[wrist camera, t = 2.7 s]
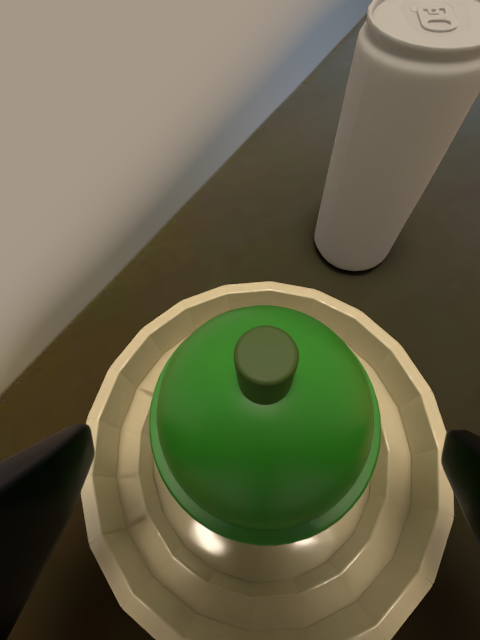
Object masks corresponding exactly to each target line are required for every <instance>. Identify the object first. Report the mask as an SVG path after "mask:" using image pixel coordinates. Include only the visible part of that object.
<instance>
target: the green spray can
mask: <svg viewBox="0 0 480 640" xmlns="http://www.w3.org/2000/svg"><path fill="white" fill-rule="evenodd" d="M149 435H150V443H151V450H152V453H153V457H154V460H155V464H156V467H157V469H158V471H159V474H160V476H161V478H162V481H163V482H164V484H165V486H166V487H167V489H168V491H169V492H170V494H171V495H172V497H173V498H174V499H175V500H176V502H177V503H178V504H179V505H180V507H181V508H182V509H183V510H184V511H185V512H187V513H188V514H189V515H190V516H191V517H192V518H193V519H194V520H195V521H197V522H198V523H200V524H201V525H203V526H204V527H205V528H207V529H208V530H210V531H212V532H214V533H216V534H218V535H220V536H222V537H224V538H227V539H231V540H234V541H237V542H240V543H245V544H251V545H257V546H278V545H284V544H291V543H295V542H299V541H302V540H305V539H308V538H311V537H313V536H315V535H317V534H319V533H321V532H323V531H325V530H327V529H328V528H329V527H331V526H332V525H334V524H335V523H336V522H338V521H339V520H340V519H341V518H343V517H344V516H345V515H346V514H347V513H348V512H349V511H350V510H351V509H352V508H353V506H354V505H355V504H356V502H357V501H358V500H359V498H360V497H361V496H362V494H363V493H364V491H365V489H366V487H367V485H368V484H369V482H370V480H371V477H372V475H373V472H374V469H375V467H376V464H377V459H378V455H379V450H380V442H381V417H380V411H379V405H378V400H377V397H376V394H375V391H374V388H373V385H372V383H371V381H370V378H369V376H368V374H367V372H366V370H365V369H364V367H363V365H362V364H361V362H360V361H359V359H358V358H357V357H356V355H355V354H354V353H353V352H352V350H351V349H350V348H349V347H348V346H347V345H346V343H345V342H344V341H343V340H342V339H341V338H340V337H339V336H338V335H337V334H336V333H335V332H334V331H332V330H331V329H330V328H328V327H327V326H326V325H325V324H323V323H322V322H320V321H318V320H317V319H315V318H313V317H311V316H309V315H307V314H305V313H302V312H300V311H296V310H293V309H290V308H285V307H281V306H272V305H253V306H246V307H241V308H237V309H233V310H230V311H227V312H225V313H222V314H220V315H218V316H216V317H214V318H212V319H210V320H209V321H207V322H206V323H204V324H203V325H201V326H200V327H199V328H197V329H196V330H195V331H194V332H193V333H192V334H191V335H189V336H188V337H187V338H186V339H185V340H184V341H183V342H182V343H181V344H180V345H179V347H178V348H177V349H176V350H175V351H174V352H173V354H172V355H171V357H170V358H169V360H168V361H167V362H166V364H165V366H164V368H163V370H162V372H161V374H160V376H159V378H158V381H157V383H156V386H155V389H154V392H153V397H152V401H151V406H150V415H149Z"/></svg>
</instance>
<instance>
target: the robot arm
mask: <svg viewBox="0 0 480 640" xmlns="http://www.w3.org/2000/svg"><path fill="white" fill-rule="evenodd" d="M94 456H95V449H94V443H93V438H92V432H91V428H90V426H89V425H87V424H71V425H69V426H67V427H66V428H64V429H62V430H60V431H58V432H56V433H54V434H52V435H50V436H48V437H46V438H45V439H43V440H41V441H39V442H37V443H35V444H33V445H31V446H29V447H27V448H26V449H24V450H22V451H20V452H18V453H16V454H14V455H12V456H10V457H8V458H7V459H5V460H3V461H1V462H0V640H7V638H8V636H9V634H10V632H11V630H12V628H13V626H14V624H15V622H16V621H17V619H18V617H19V615H20V613H21V611H22V609H23V607H24V605H25V603H26V601H27V599H28V598H29V596H30V594H31V592H32V590H33V588H34V586H35V584H36V582H37V580H38V578H39V576H40V575H41V573H42V571H43V569H44V567H45V565H46V563H47V561H48V559H49V557H50V555H51V554H52V552H53V550H54V548H55V546H56V544H57V542H58V540H59V538H60V536H61V534H62V532H63V531H64V529H65V527H66V525H67V523H68V521H69V519H70V516H71V514H72V512H73V510H74V507H75V505H76V502H77V500H78V497H79V495H80V492H81V490H82V487H83V485H84V482H85V480H86V478H87V475H88V473H89V470H90V468H91V465H92V463H93V460H94ZM441 463H442V467H443V470H444V472H445V474H446V476H447V479H448V481H449V483H450V485H451V488H452V490H453V492H454V494H455V497H456V499H457V501H458V503H459V505H460V508H461V510H462V512H463V514H464V517H465V519H466V521H467V523H468V525H469V527H470V529H471V531H472V533H473V535H474V537H475V539H476V540H477V542H478V544H479V546H480V437H479V436H477V435H475V434H473V433H471V432H469V431H467V430H449V431H448V432H447V433H446V436H445V441H444V445H443V450H442V455H441Z"/></svg>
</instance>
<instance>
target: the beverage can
mask: <svg viewBox="0 0 480 640" xmlns="http://www.w3.org/2000/svg"><path fill="white" fill-rule="evenodd" d="M479 92H480V0H373V1H372V3H371V4H370V6H369V7H368V11H367V20H366V22H365V23H364V25H363V26H362V28H361V30H360V31H359V34H358V38H357V43H356V47H355V52H354V56H353V61H352V65H351V70H350V74H349V79H348V83H347V88H346V93H345V97H344V102H343V106H342V111H341V115H340V120H339V124H338V129H337V133H336V138H335V142H334V147H333V152H332V156H331V161H330V165H329V170H328V174H327V179H326V183H325V188H324V192H323V197H322V201H321V206H320V211H319V215H318V220H317V224H316V229H315V236H314V240H315V243H316V246H317V248H318V250H319V251H320V253H321V255H322V256H323V257H324V258H325V259H326V260H327V261H328V262H329V263H330V264H332V265H334V266H335V267H337V268H340V269H343V270H349V271H362V270H367V269H370V268H373V267H375V266H376V265H378V264H379V263H381V262H382V261H383V260H384V259H385V257H386V256H387V255H388V253H389V251H390V249H391V247H392V246H393V244H394V242H395V240H396V238H397V237H398V235H399V233H400V231H401V230H402V228H403V226H404V224H405V223H406V221H407V219H408V217H409V216H410V214H411V212H412V211H413V209H414V207H415V206H416V204H417V202H418V200H419V199H420V197H421V195H422V194H423V192H424V190H425V188H426V187H427V185H428V183H429V181H430V180H431V178H432V176H433V174H434V173H435V171H436V169H437V167H438V165H439V164H440V162H441V160H442V158H443V156H444V155H445V153H446V151H447V149H448V147H449V146H450V144H451V142H452V140H453V138H454V137H455V135H456V133H457V131H458V129H459V128H460V126H461V124H462V122H463V120H464V119H465V117H466V115H467V113H468V111H469V110H470V108H471V106H472V104H473V102H474V101H475V99H476V97H477V95H478V93H479Z"/></svg>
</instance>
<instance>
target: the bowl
mask: <svg viewBox="0 0 480 640" xmlns="http://www.w3.org/2000/svg"><path fill="white" fill-rule="evenodd" d="M253 305H272V306H281V307H285V308H290V309H293V310H296V311H300V312H302V313H305V314H307V315H309V316H311V317H313V318H315V319H317V320H318V321H320V322H322V323H323V324H325V325H326V326H327V327H328V328H330V329H331V330H332V331H334V332H335V333H336V334H337V335H338V336H339V337H340V338H341V339H342V340H343V341H344V342H345V343H346V345H347V346H348V347H349V348H350V349H351V350H352V352H353V353H354V354H355V355H356V357H357V358H358V359H359V361H360V362H361V364H362V365H363V367H364V369H365V370H366V372H367V374H368V376H369V378H370V381H371V383H372V385H373V388H374V391H375V394H376V397H377V400H378V405H379V411H380V417H381V442H380V450H379V455H378V459H377V464H376V467H375V469H374V472H373V475H372V477H371V480H370V482H369V484H368V485H367V487H366V489H365V491H364V493H363V494H362V496H361V497H360V498H359V500H358V501H357V502H356V504H355V505H354V506H353V508H352V509H351V510H350V511H349V512H348V513H347V514H346V515H345V516H344V517H343V518H341V519H340V520H339V521H338V522H336V523H335V524H334V525H332V526H331V527H329V528H328V529H327V530H325V531H323V532H321V533H319V534H317V535H315V536H313V537H311V538H308V539H305V540H302V541H299V542H295V543H291V544H284V545H278V546H257V545H251V544H245V543H240V542H237V541H234V540H231V539H227V538H224V537H222V536H220V535H218V534H216V533H214V532H212V531H210V530H208V529H207V528H205V527H204V526H203V525H201V524H200V523H198V522H197V521H195V520H194V519H193V518H192V517H191V516H190V515H189V514H188V513H187V512H185V511H184V510H183V509H182V508H181V507H180V505H179V504H178V503H177V502H176V500H175V499H174V498H173V497H172V495H171V494H170V492H169V491H168V489H167V487H166V486H165V484H164V482H163V481H162V478H161V476H160V474H159V471H158V469H157V467H156V464H155V460H154V457H153V453H152V450H151V443H150V435H149V415H150V406H151V401H152V397H153V392H154V389H155V386H156V383H157V381H158V378H159V376H160V374H161V372H162V370H163V368H164V366H165V364H166V362H167V361H168V360H169V358H170V357H171V355H172V354H173V352H174V351H175V350H176V349H177V348H178V347H179V345H180V344H181V343H182V342H183V341H184V340H185V339H186V338H187V337H188V336H189V335H191V334H192V333H193V332H194V331H195V330H196V329H197V328H199V327H200V326H201V325H203V324H204V323H206V322H207V321H209V320H210V319H212V318H214V317H216V316H218V315H220V314H222V313H225V312H227V311H230V310H233V309H237V308H241V307H246V306H253ZM86 424H87V425H89V426H90V428H91V432H92V438H93V443H94V449H95V456H94V460H93V463H92V465H91V468H90V470H89V473H88V475H87V478H86V480H85V482H84V485H83V487H82V490H81V498H82V504H83V510H84V517H85V523H86V529H87V536H88V542H89V544H90V545H89V546H90V548H91V550H92V552H93V554H94V556H95V558H96V560H97V562H98V564H99V566H100V568H101V570H102V571H103V573H104V575H105V577H106V579H107V581H108V583H109V585H110V587H111V589H112V591H113V593H114V595H115V597H116V599H117V601H118V603H119V605H120V606H121V607H122V609H123V610H124V611H125V612H126V613H127V614H128V615H129V616H131V617H132V618H133V619H134V620H135V621H136V622H137V623H138V624H139V625H140V626H141V627H142V628H143V629H145V630H146V631H147V632H148V633H149V634H150V635H151V636H152V637H153V638H154V639H155V640H391V639H392V637H393V636H394V635H395V634H396V632H397V631H398V630H399V628H400V627H401V626H402V625H403V623H404V622H405V621H406V620H407V618H408V617H409V616H410V614H411V613H412V612H413V611H414V609H415V608H416V607H417V605H418V604H419V603H420V602H421V600H422V599H423V598H424V596H425V595H426V594H427V593H428V591H429V590H430V589H431V587H432V584H434V581H435V578H436V575H437V571H438V568H439V565H440V562H441V558H442V555H443V552H444V549H445V545H446V542H447V539H448V535H449V532H450V529H451V526H452V522H453V516H454V496H453V490H452V488H451V485H450V483H449V481H448V479H447V476H446V474H445V472H444V470H443V467H442V463H441V455H442V450H443V445H444V441H445V436H446V430H445V427H444V424H443V421H442V418H441V415H440V412H439V409H438V406H437V403H436V400H435V397H434V394H433V392H432V390H431V388H430V387H429V386H428V384H427V383H426V381H425V380H424V378H423V377H422V375H421V374H420V372H419V371H418V369H417V368H416V367H415V365H414V364H413V362H412V361H411V359H410V358H409V356H408V355H407V353H406V352H405V350H404V349H403V348H402V346H401V345H400V344H399V343H398V342H397V341H396V340H394V339H393V338H392V337H391V336H390V335H389V334H387V333H386V332H385V331H384V330H383V329H382V328H380V327H379V326H378V325H377V324H376V323H374V322H373V321H372V320H371V319H370V318H369V317H367V316H366V315H365V314H364V313H363V312H361V311H360V310H358V309H356V308H354V307H352V306H350V305H348V304H346V303H343V302H341V301H339V300H337V299H335V298H333V297H331V296H329V295H326V294H324V293H322V292H320V291H318V290H315V289H310V288H305V287H299V286H294V285H288V284H283V283H277V282H272V281H271V282H269V281H268V282H256V283H244V284H232V285H225V286H224V285H223V286H221V287H218V288H215V289H212V290H210V291H207V292H204V293H201V294H199V295H196V296H193V297H190V298H187V299H185V300H182V301H180V302H179V303H177V304H176V305H175V306H173V307H172V308H170V309H169V310H167V311H166V312H165V313H163V314H162V315H160V316H159V317H158V318H156V319H155V320H153V321H152V322H150V323H149V324H148V325H146V326H145V327H143V328H142V329H141V330H140V331H139V333H138V334H137V335H136V336H135V337H134V339H133V340H132V341H131V342H130V344H129V345H128V346H127V347H126V348H125V350H124V351H123V352H122V353H121V354H120V356H119V357H118V358H117V359H116V361H115V362H114V363H113V364H112V365H111V367H110V369H109V370H108V372H107V374H106V377H105V379H104V381H103V383H102V386H101V388H100V390H99V393H98V395H97V397H96V399H95V402H94V404H93V406H92V408H91V411H90V413H89V415H88V418H87V421H86Z"/></svg>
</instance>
